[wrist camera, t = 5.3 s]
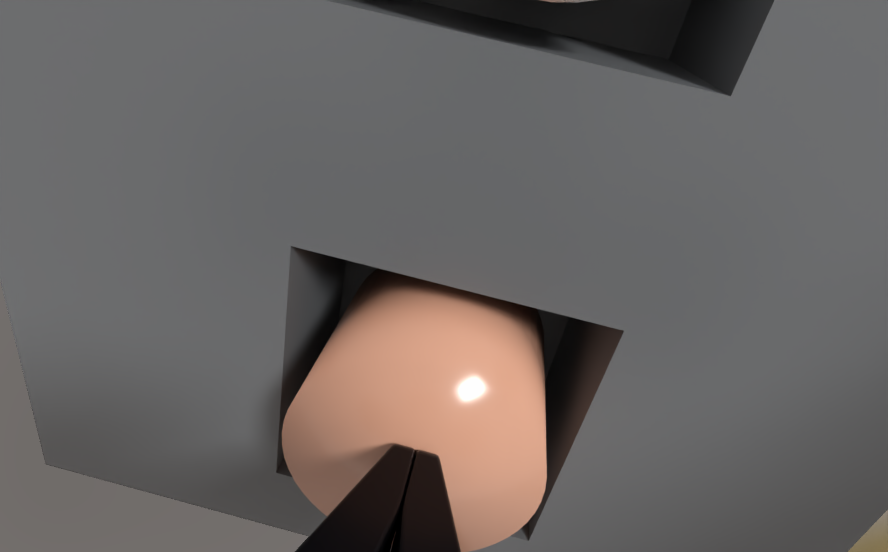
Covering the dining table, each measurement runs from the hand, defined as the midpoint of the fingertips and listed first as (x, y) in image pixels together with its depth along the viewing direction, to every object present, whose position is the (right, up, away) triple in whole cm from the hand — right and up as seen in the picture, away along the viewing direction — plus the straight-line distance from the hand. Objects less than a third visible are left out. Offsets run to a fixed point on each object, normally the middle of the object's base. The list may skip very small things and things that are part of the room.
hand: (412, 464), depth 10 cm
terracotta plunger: (+1, +2, +3) cm, 4 cm away
